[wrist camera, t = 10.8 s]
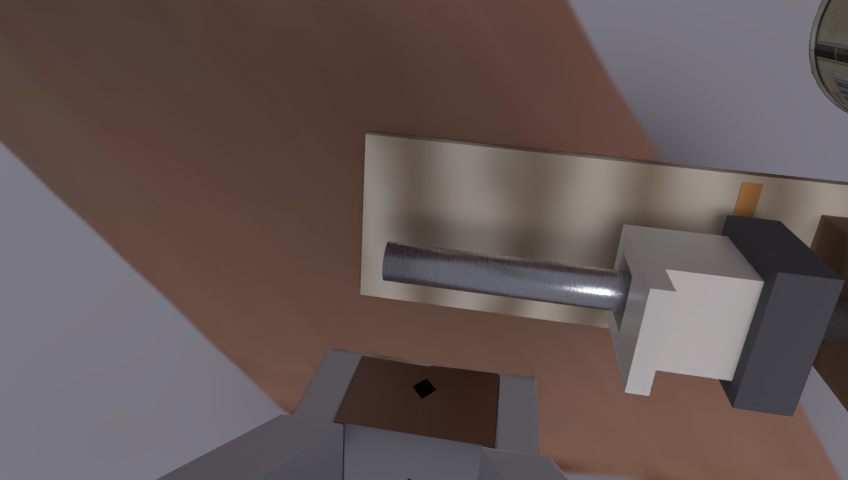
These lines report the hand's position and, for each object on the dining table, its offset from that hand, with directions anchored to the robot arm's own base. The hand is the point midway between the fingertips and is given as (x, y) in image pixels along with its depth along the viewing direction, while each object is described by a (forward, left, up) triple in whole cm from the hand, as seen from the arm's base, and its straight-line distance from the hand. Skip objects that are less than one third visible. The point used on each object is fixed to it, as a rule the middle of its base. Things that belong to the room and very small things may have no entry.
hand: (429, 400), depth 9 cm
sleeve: (+11, -10, -28) cm, 32 cm away
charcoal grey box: (+16, -10, -29) cm, 35 cm away
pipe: (+8, -10, -26) cm, 29 cm away
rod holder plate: (+10, -10, -32) cm, 35 cm away
